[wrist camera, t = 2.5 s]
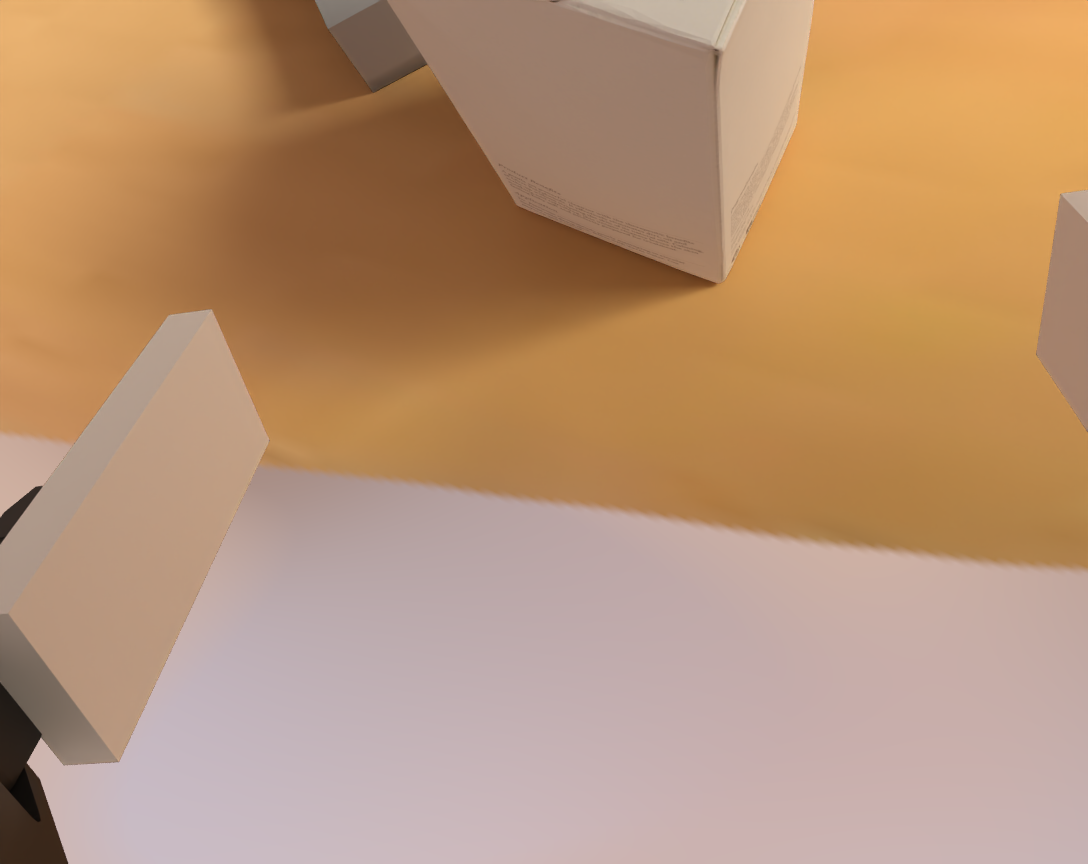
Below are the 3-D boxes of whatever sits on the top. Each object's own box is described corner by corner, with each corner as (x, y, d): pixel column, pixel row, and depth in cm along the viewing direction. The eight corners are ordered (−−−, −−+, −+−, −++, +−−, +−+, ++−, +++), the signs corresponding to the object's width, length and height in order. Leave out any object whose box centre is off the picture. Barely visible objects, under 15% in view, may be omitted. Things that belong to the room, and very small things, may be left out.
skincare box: (799, 126, 32) (885, -262, 17) (719, 301, 32) (732, 66, 17) (577, 46, 34) (474, -372, 19) (498, 212, 34) (327, -76, 18)
